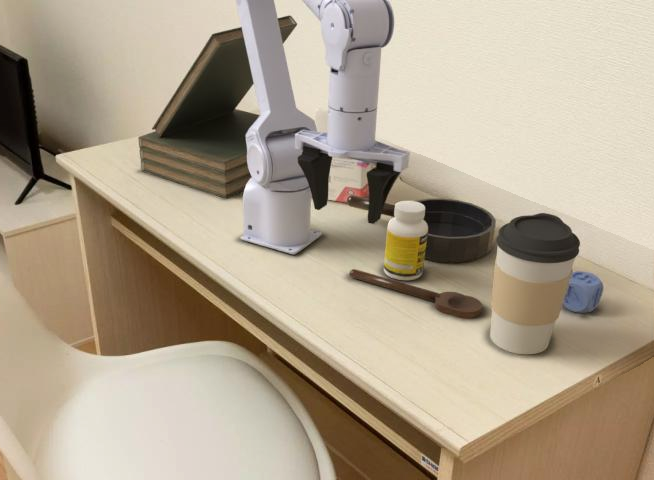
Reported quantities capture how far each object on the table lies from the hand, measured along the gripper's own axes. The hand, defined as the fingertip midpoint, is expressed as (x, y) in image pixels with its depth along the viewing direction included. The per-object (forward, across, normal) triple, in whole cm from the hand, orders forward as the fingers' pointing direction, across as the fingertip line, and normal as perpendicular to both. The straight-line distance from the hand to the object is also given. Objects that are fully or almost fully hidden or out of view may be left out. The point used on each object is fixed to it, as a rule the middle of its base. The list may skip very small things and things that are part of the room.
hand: (347, 213), depth 100 cm
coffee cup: (+11, +24, 0) cm, 26 cm away
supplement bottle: (+11, +5, +8) cm, 14 cm away
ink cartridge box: (+11, -15, +27) cm, 33 cm away
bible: (+11, -39, +28) cm, 49 cm away
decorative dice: (+11, +28, +12) cm, 32 cm away
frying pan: (+10, +6, +20) cm, 23 cm away
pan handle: (+8, -6, +20) cm, 22 cm away
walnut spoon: (+10, +9, +3) cm, 14 cm away
